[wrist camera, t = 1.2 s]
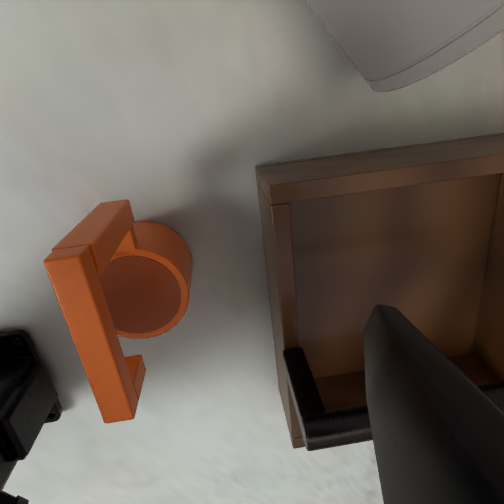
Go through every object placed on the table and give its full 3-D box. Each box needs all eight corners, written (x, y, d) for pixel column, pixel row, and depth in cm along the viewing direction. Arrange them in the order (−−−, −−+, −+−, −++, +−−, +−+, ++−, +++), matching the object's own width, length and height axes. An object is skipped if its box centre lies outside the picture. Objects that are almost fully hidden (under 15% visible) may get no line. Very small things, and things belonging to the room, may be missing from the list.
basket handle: (283, 367, 17) (308, 459, 13) (281, 347, 17) (306, 435, 12) (554, 323, 18) (664, 395, 14) (559, 303, 18) (675, 371, 13)
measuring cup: (116, 305, 20) (53, 445, 12) (81, 191, 17) (-30, 270, 9) (199, 293, 20) (192, 421, 12) (176, 178, 18) (148, 245, 10)
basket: (279, 389, 24) (293, 449, 20) (255, 166, 18) (268, 185, 14) (477, 356, 24) (530, 407, 20) (516, 131, 19) (601, 140, 15)
